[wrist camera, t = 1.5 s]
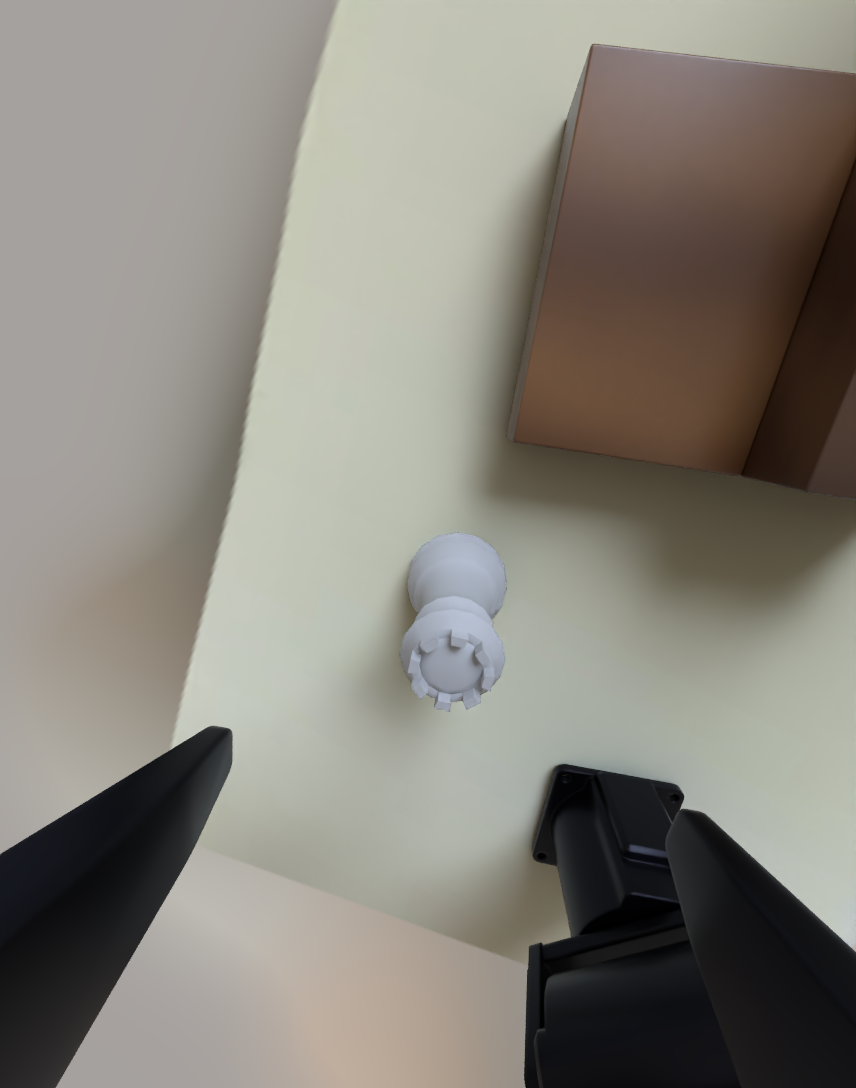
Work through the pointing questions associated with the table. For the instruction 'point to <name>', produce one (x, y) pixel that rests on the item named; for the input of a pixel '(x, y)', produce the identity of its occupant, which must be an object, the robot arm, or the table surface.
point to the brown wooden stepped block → (700, 272)
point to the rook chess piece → (454, 620)
